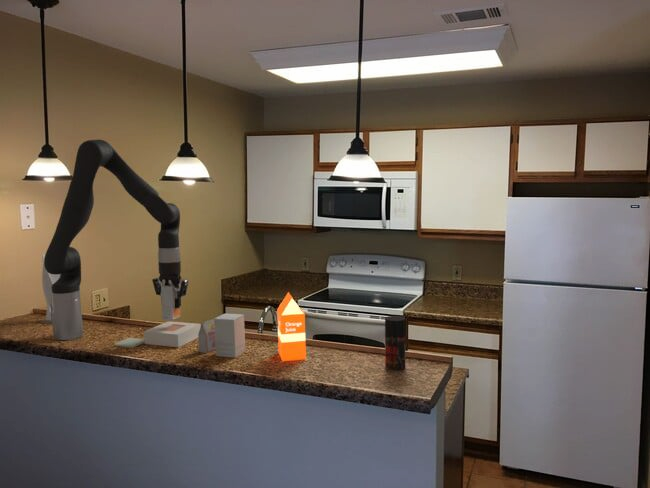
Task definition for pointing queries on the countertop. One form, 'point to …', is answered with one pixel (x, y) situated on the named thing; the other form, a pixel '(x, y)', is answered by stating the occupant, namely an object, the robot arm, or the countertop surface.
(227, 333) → the supplement box
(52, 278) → the skyscraper
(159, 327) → the frame
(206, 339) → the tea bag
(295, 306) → the orange juice
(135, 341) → the mat
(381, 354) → the countertop surface
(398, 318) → the deodorant
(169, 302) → the skincare box
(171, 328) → the button
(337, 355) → the countertop surface
